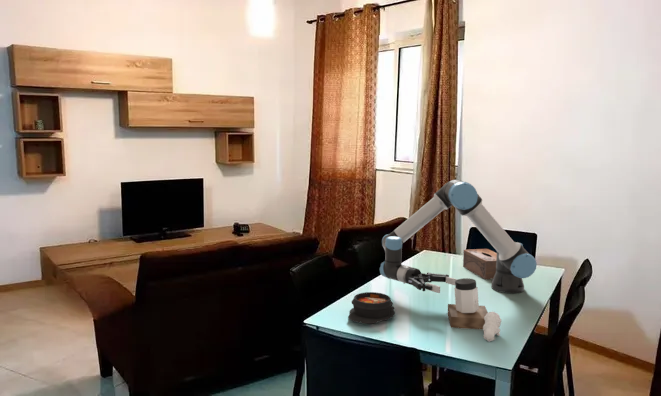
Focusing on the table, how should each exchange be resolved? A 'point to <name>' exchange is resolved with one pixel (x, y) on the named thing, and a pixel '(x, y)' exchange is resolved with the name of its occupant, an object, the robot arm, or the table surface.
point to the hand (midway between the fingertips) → (449, 286)
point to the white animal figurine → (491, 326)
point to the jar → (466, 295)
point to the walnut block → (466, 318)
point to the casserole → (371, 308)
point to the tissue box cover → (480, 262)
